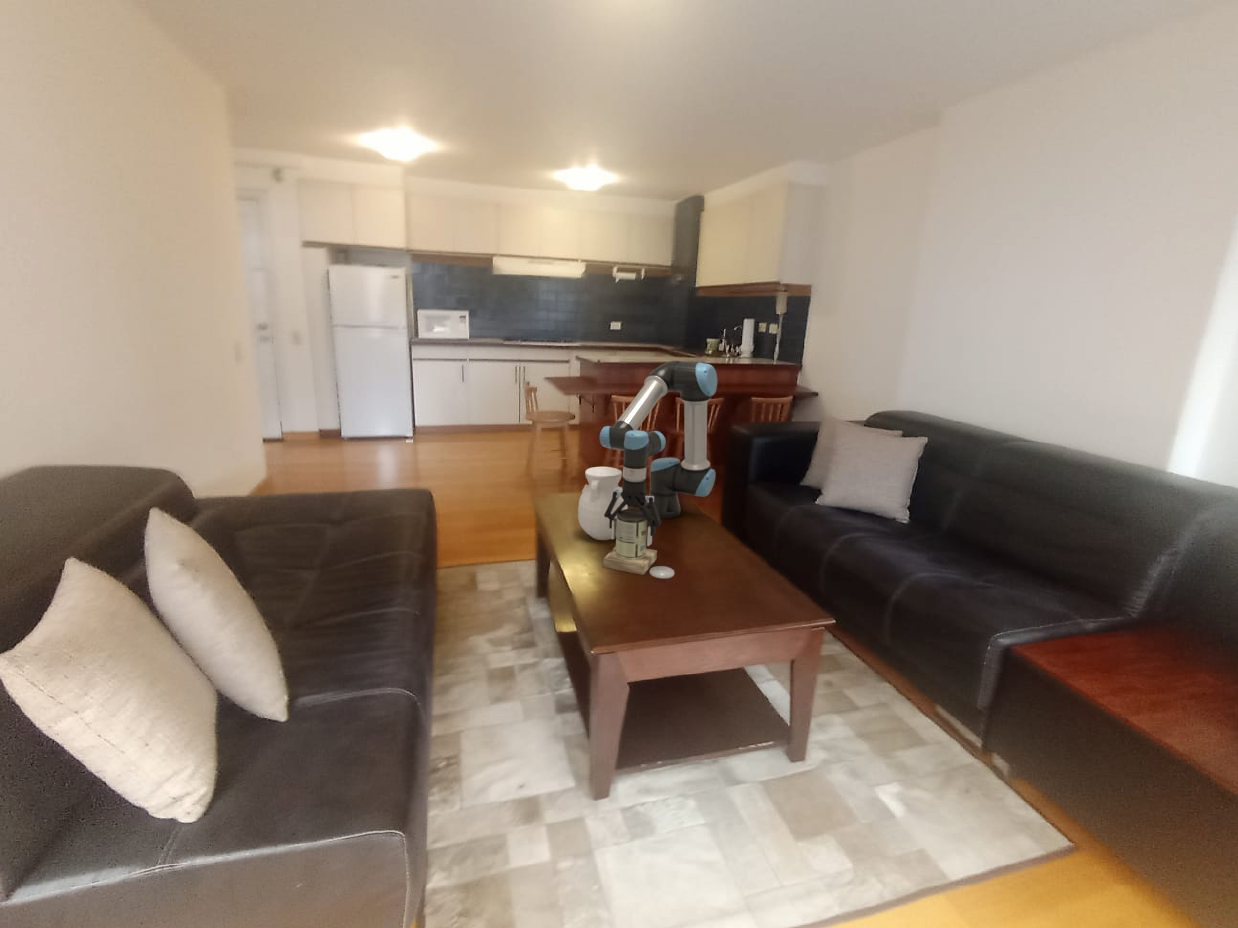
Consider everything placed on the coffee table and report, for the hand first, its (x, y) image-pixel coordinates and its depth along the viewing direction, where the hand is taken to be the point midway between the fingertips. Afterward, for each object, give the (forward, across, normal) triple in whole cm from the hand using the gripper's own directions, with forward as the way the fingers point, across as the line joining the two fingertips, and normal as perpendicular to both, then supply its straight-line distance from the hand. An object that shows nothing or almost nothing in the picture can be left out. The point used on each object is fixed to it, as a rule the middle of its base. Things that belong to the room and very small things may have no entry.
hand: (631, 541), depth 192 cm
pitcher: (+8, -18, +18) cm, 27 cm away
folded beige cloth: (+8, 0, 0) cm, 8 cm away
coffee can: (+5, 0, 0) cm, 5 cm away
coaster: (+8, +12, -3) cm, 15 cm away
